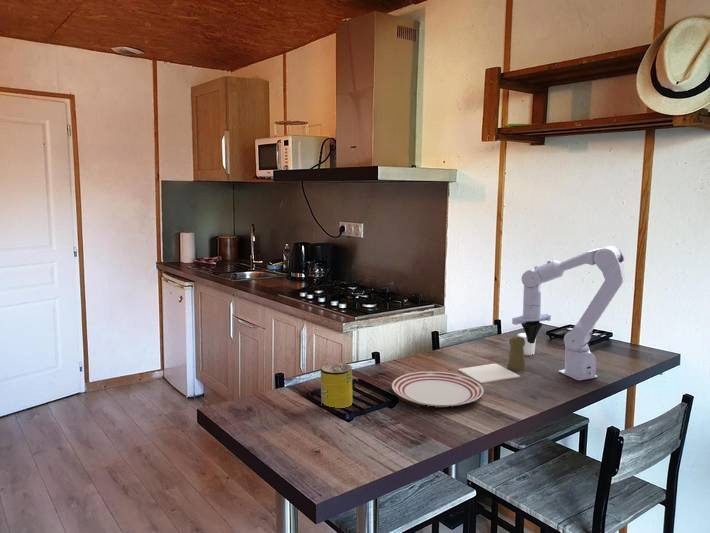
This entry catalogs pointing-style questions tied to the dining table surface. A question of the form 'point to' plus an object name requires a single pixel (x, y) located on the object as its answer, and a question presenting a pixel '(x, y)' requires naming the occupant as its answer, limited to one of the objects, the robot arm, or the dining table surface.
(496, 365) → the mat
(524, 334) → the white short cylinder
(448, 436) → the dining table surface
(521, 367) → the olive waisted cylinder
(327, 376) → the yellow tin can
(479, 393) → the dinner plate
